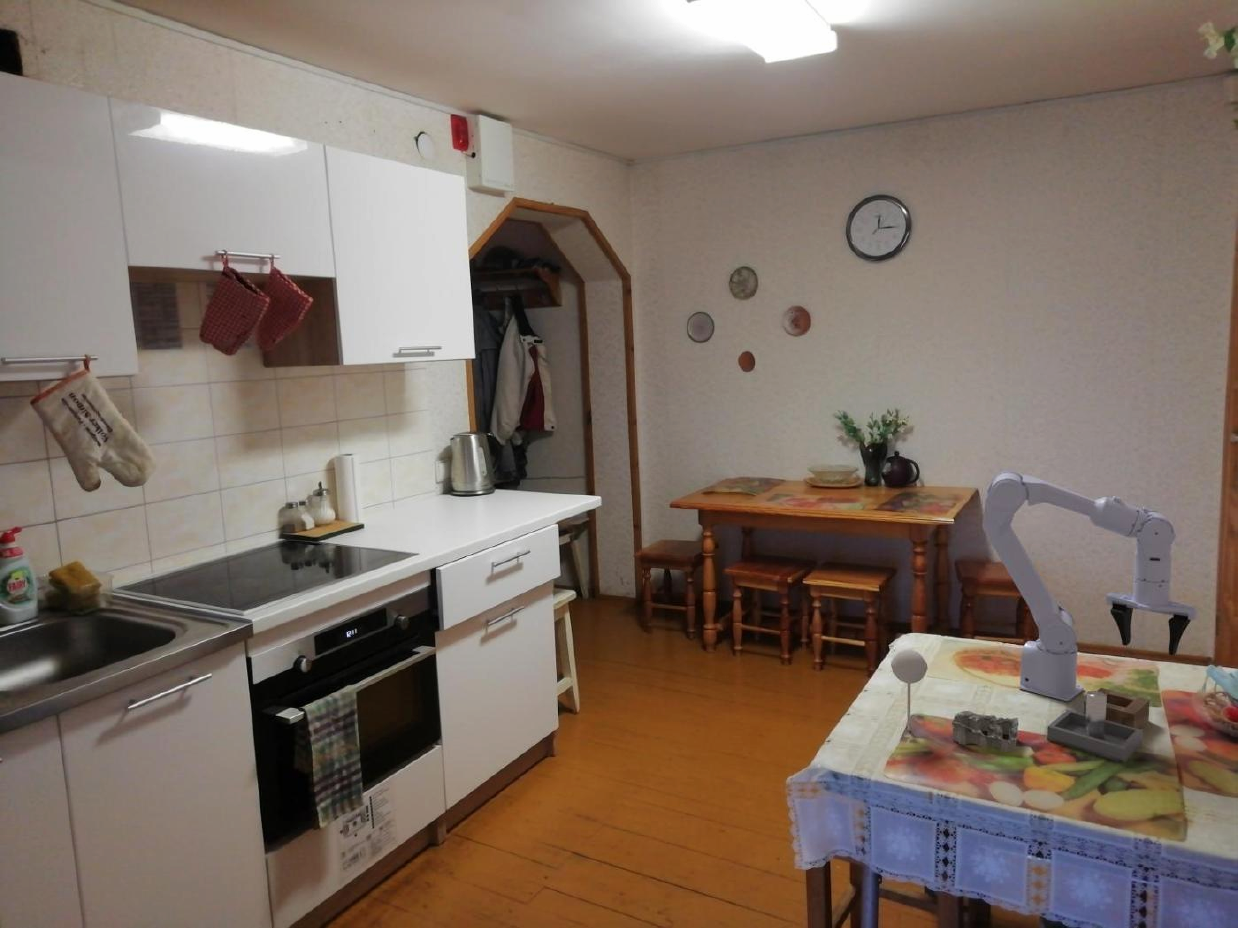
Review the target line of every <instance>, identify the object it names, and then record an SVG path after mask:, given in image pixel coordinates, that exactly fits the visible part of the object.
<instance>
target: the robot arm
mask: <svg viewBox="0 0 1238 928" xmlns="http://www.w3.org/2000/svg"><path fill="white" fill-rule="evenodd" d="M984 501H985V502H984V510H983V519H982V520H983V521H982V529H983V532H984V533H985V535H986V537H987V538H988V540H989V542H990V544H991V545H992V547H993V549H994V550H995V553H996V554H997V555H998V558H999V559H1000V561H1001V563H1002V564H1003V565H1004V567H1005V568H1006V570H1007V572H1008V574H1009V576H1010V578H1011V579H1012V581H1013V582H1014V584H1015V585H1016V588H1017V590H1018V591H1019V593H1020V595H1021V596H1022V598H1023V599H1024V601H1025V603H1026V604H1027V606H1028V608H1029V611H1030V612H1031V616H1032V618H1033V620H1034V622H1035V624H1036V625H1037V628H1038V631H1039V632H1038V634H1039V636H1038V639H1036V640H1035V641H1033V640H1027V641H1026V642H1025V644H1024V645H1023V648H1022V650H1021V654H1020V674H1019V675H1020V681H1019V685H1018V689H1021V690H1024V691H1027V692H1031V693H1035V694H1039V695H1041V696H1046V697H1050V698H1053V699H1057V700H1061V701H1065V702H1070V701H1071V700H1073V699H1074V698H1075V697H1076V696H1078V695H1079V694H1080V693H1081V692H1082V691H1084V690H1085V687H1084V686H1082V685H1077V673H1078V667H1077V666H1078V649H1079V648H1078V645H1077V644H1076V643H1077V638H1078V637H1077V632H1076V630H1075V619H1074V617H1073V615H1072V613H1070V612H1069V610H1067V609H1065V608H1064V607H1062V606H1061V605H1060V603H1059V602H1058V600H1057V599H1056V597H1055V596H1053V594H1052V593H1051V591H1050V590H1049V588H1048V586H1047V585H1046V583H1045V580H1044V579H1043V578H1042V576H1041V575H1040V573H1039V571H1038V569H1037V568H1036V566H1035V564H1034V563H1033V561H1032V559H1031V557H1030V556H1029V555H1028V553H1027V550H1026V549H1025V548H1024V546H1023V545H1022V543H1021V540H1020V539H1019V537H1018V536H1017V534H1016V533H1015V531H1014V529H1013V527H1012V526H1011V525H1012V523H1013V520H1014V518H1015V517H1014V516H1015V514H1016V513H1018V511H1019V510H1020V508H1021V507H1022V506H1023V505H1024V504H1025V502H1026V501H1027V505H1028V507H1030V506H1035V505H1038V504H1044V503H1045V504H1050V505H1053V506H1055V507H1059V508H1062V509H1066V510H1069V511H1071V512H1075V513H1078V514H1081V515H1084V516H1087V517H1089V519H1090V521H1091V523H1092V525H1093V526H1096V527H1097V528H1101V529H1103V530H1106V531H1109V532H1113V533H1115V534H1118V535H1120V536H1123V537H1126V538H1134V539H1135V538H1136V548H1135V552H1134V562H1133V563H1134V565H1133V590H1132V591H1133V592H1132V593H1133V594H1126V593H1125V594H1124V593H1114V592H1109V593H1108V594H1105V595H1106V597H1105V604H1106V605H1107V606H1111V608H1110V609H1109V610H1110V614H1111V616H1112V618H1113V619H1114V621H1115V623H1116V626H1117V628H1118V631H1119V634H1120V638H1121V642H1122V645H1123V646H1125V647H1127V646H1129V644H1130V643H1131V640H1132V639H1131V638H1132V637H1131V636H1132V634H1131V633H1132V626H1131V625H1132V619H1133V618H1132V617H1133V610H1134V609H1135V610H1136V609H1137V610H1139V611H1145V612H1151V613H1157V614H1162V615H1163V614H1164V615H1169V616H1172V617H1171V618H1169V619H1168V629H1169V630H1168V632H1169V644H1168V655H1170V656H1175V655H1176V654H1177V651H1178V648H1179V644H1180V641H1181V639H1182V636H1183V635H1184V632H1185V631H1186V630H1187V628H1188V626H1189V625H1190V622H1191V621H1196V620H1197V619H1198V618H1199V607H1197V606H1192V605H1187V604H1183V603H1179V602H1176V601H1172V600H1170V597H1171V595H1170V594H1171V578H1172V577H1171V573H1172V554H1171V550H1172V544H1173V542H1174V541H1175V540H1176V537H1177V535H1176V533H1175V529H1174V526H1173V524H1172V523H1171V522H1170V521H1169V519H1168V518H1167V517H1166V516H1165V515H1164V514H1162V513H1161V512H1158V511H1157V510H1154V509H1152V510H1151V509H1149V508H1148V507H1145V506H1142V508H1140V507H1137V506H1134V505H1131V504H1129V503H1125V502H1122V498H1121V497H1120V496H1115V495H1113V496H1112V498H1111V497H1109V496H1104V497H1101V498H1098V499H1093V498H1090V497H1088V496H1086V495H1083V494H1080V493H1077V492H1074V491H1073V490H1070V489H1067V488H1064V487H1062V486H1059V485H1058V484H1054V483H1051V482H1049V481H1046V480H1045V479H1040V478H1038V477H1034V476H1031V475H1028V474H1022V475H1021V474H1019V473H1018V472H1016V471H1011V470H1005V471H1002V472H999V473H998V474H996V475H995V476H994V478H993V479H992V481H991V483H990V485H989V487H988V489H987V491H986V497H985V500H984Z"/></svg>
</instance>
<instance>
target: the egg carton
mask: <svg viewBox="0 0 1238 928" xmlns="http://www.w3.org/2000/svg"><path fill="white" fill-rule="evenodd" d="M1018 719H1019V717H1015V718H1014V717H1013V718H1010V717H1007V718H1003V717H1002V716H1000V717H998V718H997V717H996V715H986V714H977V713H976V712H975V713H974V712H973V711H969V710H963V711H960V712H958V713H956V714H955V715H954V718H953V721H952V723H951V728H952V739H951V740H953V741H955V742H958V744H959V745H968V744H974V745H977V746H978V747H979V748H981V749H982V748H983V749H987V748H990V747H991V748H992V747H994V748H997V749H999V750H1001V752H1010V751H1017V741H1018V733H1019V732H1018V728H1019V720H1018ZM983 732H987V735H985V734H984V733H983ZM1004 735H1008V739H1004V738H1003V736H1004Z"/></svg>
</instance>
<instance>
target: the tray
mask: <svg viewBox="0 0 1238 928" xmlns="http://www.w3.org/2000/svg"><path fill="white" fill-rule="evenodd" d="M1085 719H1086V714H1084V713H1082V712H1078V711H1074V710H1072V709H1071V710H1070V709H1067V710H1066V711H1064V712H1063V713H1062V714H1061V715H1059V716H1058V717H1057V718H1056V719H1054V720H1053V721H1052V722H1051V723H1049V724H1048V725H1047V726H1046V727H1047V728H1046V729H1047V730H1046V739H1047V740H1046V741H1049V742H1052V743H1056V744H1059V745H1063V746H1066V747H1068V748H1071V749H1075V750H1079V751H1082V752H1084V753H1085V752H1086V753H1089V754H1092V755H1095V756H1099V757H1102V758H1105V759H1109V760H1112V761H1114V762H1118V763H1121V764H1124V763H1126V762H1127V761H1128V759H1130V758H1131V757H1132V755H1134V753H1135V752H1136V751H1138V749H1139V748H1140V747H1141V746H1142V745H1143V735H1144V730H1143V729H1137V728H1133V727H1129V726H1126V725H1122V724H1119V723H1115V722H1111V721H1108V720H1106V723H1105V741H1103V740H1100V739H1096V738H1093V737H1089V736H1086V735H1085Z"/></svg>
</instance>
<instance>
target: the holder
mask: <svg viewBox="0 0 1238 928" xmlns="http://www.w3.org/2000/svg"><path fill="white" fill-rule="evenodd" d="M1097 691H1098V692H1102V693H1104V694H1106V695H1107V703H1106V720H1108V721H1111V722H1115V723H1119V724H1122V725H1126V726H1129V727H1133V728H1137V729H1140V730H1142V728H1143V727H1144V726H1146V724H1147V723H1148V722H1149V721H1150V719H1149V718H1150V701H1151V700H1150V699H1147V698H1143V697H1139V696H1135V695H1131V694H1128V693H1123V692H1121V691H1120V692H1119V691H1115V690H1112V689H1109V688H1103V687H1100V688H1098V689H1097ZM1083 703H1084V707H1083V708H1084V710H1083V714H1086V699H1085V700H1084V701H1083Z"/></svg>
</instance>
